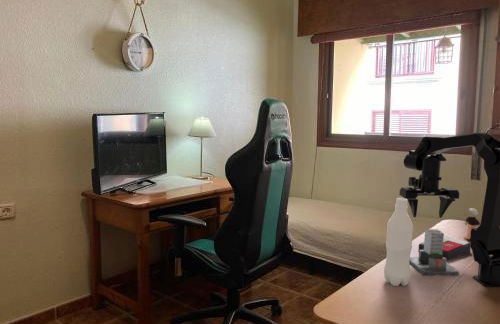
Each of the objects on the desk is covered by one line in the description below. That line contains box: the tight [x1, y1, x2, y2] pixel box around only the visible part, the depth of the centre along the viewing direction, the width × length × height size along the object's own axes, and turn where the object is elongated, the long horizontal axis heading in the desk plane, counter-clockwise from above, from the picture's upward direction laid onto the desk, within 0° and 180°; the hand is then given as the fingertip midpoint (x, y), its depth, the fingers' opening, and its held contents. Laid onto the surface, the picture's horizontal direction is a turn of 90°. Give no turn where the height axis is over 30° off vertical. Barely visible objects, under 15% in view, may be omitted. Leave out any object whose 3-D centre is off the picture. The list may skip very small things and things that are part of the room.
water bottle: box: [383, 197, 414, 287], centre depth 118 cm, size 7×7×25 cm
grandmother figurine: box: [463, 207, 481, 240], centre depth 159 cm, size 8×4×13 cm, turn 25°
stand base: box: [409, 249, 460, 276], centre depth 131 cm, size 12×11×5 cm
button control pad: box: [418, 235, 471, 262], centre depth 146 cm, size 11×4×15 cm
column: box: [423, 229, 445, 255], centre depth 130 cm, size 4×4×7 cm
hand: (427, 217), depth 143 cm, fingers open, 9 cm apart
